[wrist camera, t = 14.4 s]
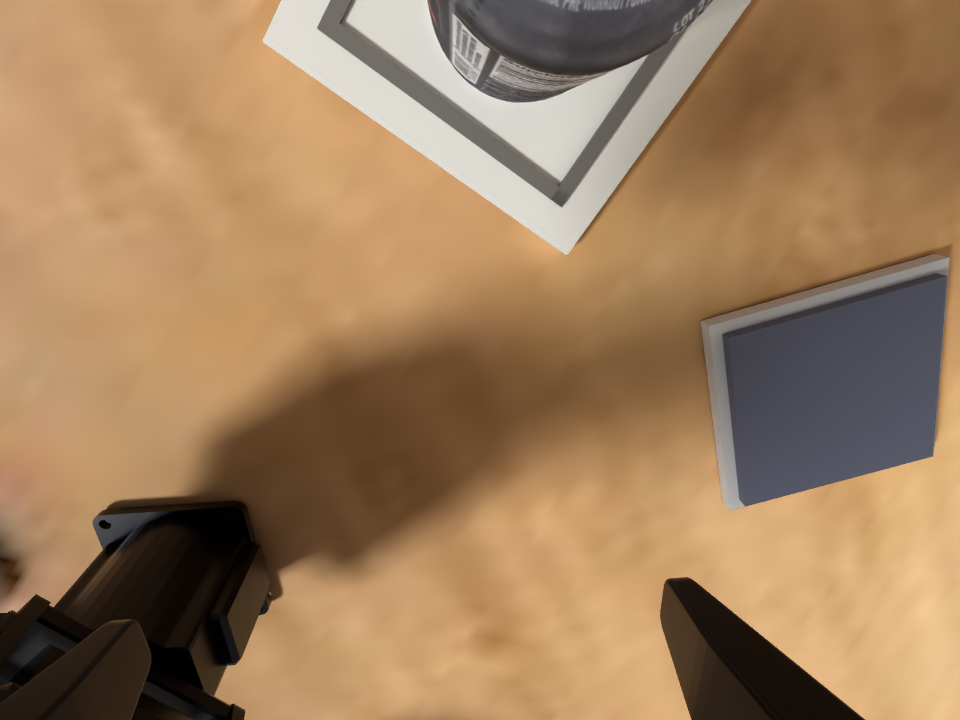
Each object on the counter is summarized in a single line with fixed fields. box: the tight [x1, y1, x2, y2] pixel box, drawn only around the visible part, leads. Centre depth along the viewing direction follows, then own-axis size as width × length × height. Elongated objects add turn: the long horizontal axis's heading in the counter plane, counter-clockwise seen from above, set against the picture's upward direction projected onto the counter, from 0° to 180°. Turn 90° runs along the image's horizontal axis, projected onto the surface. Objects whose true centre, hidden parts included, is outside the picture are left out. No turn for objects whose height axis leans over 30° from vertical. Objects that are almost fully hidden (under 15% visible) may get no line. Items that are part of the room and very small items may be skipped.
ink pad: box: [701, 254, 950, 510], centre depth 22 cm, size 10×10×1 cm
